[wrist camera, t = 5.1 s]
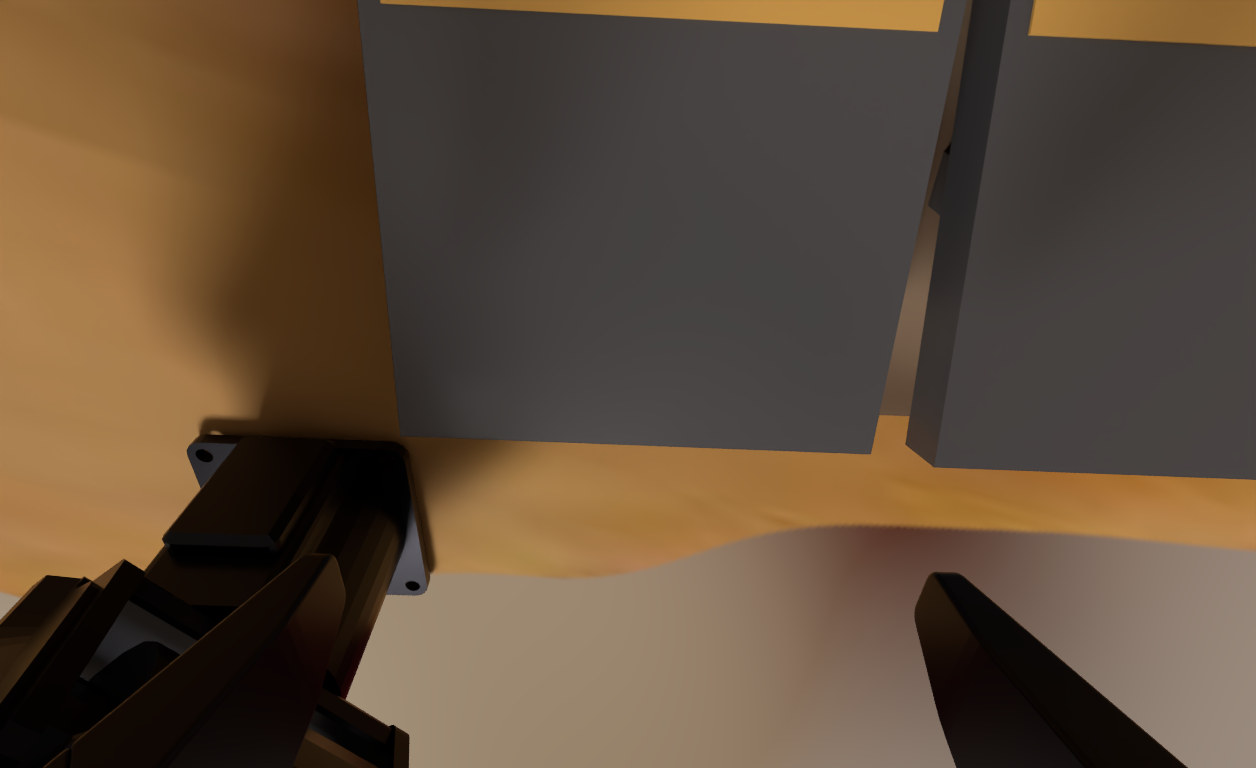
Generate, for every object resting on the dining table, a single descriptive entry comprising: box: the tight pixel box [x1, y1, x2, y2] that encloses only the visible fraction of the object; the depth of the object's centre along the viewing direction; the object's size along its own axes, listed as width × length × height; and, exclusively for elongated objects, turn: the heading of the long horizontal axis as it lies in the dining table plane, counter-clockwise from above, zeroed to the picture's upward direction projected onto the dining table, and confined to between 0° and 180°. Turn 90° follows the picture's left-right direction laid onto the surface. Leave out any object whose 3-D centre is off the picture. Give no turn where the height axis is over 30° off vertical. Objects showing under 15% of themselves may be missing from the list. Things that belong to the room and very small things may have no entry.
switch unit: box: [879, 0, 973, 416], centre depth 15 cm, size 13×22×2 cm, turn 87°
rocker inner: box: [357, 0, 967, 454], centre depth 13 cm, size 10×10×2 cm
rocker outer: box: [906, 0, 1256, 480], centre depth 13 cm, size 10×10×2 cm
